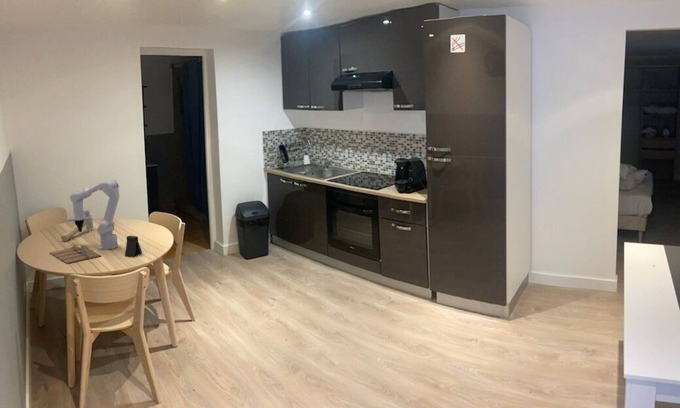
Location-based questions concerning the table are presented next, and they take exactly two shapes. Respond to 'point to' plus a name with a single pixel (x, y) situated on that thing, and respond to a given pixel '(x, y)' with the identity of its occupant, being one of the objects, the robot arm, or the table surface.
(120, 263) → the table surface
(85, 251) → the strip
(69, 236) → the hammer
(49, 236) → the table surface
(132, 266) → the table surface
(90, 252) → the walnut board
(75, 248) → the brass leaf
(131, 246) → the phone stand
